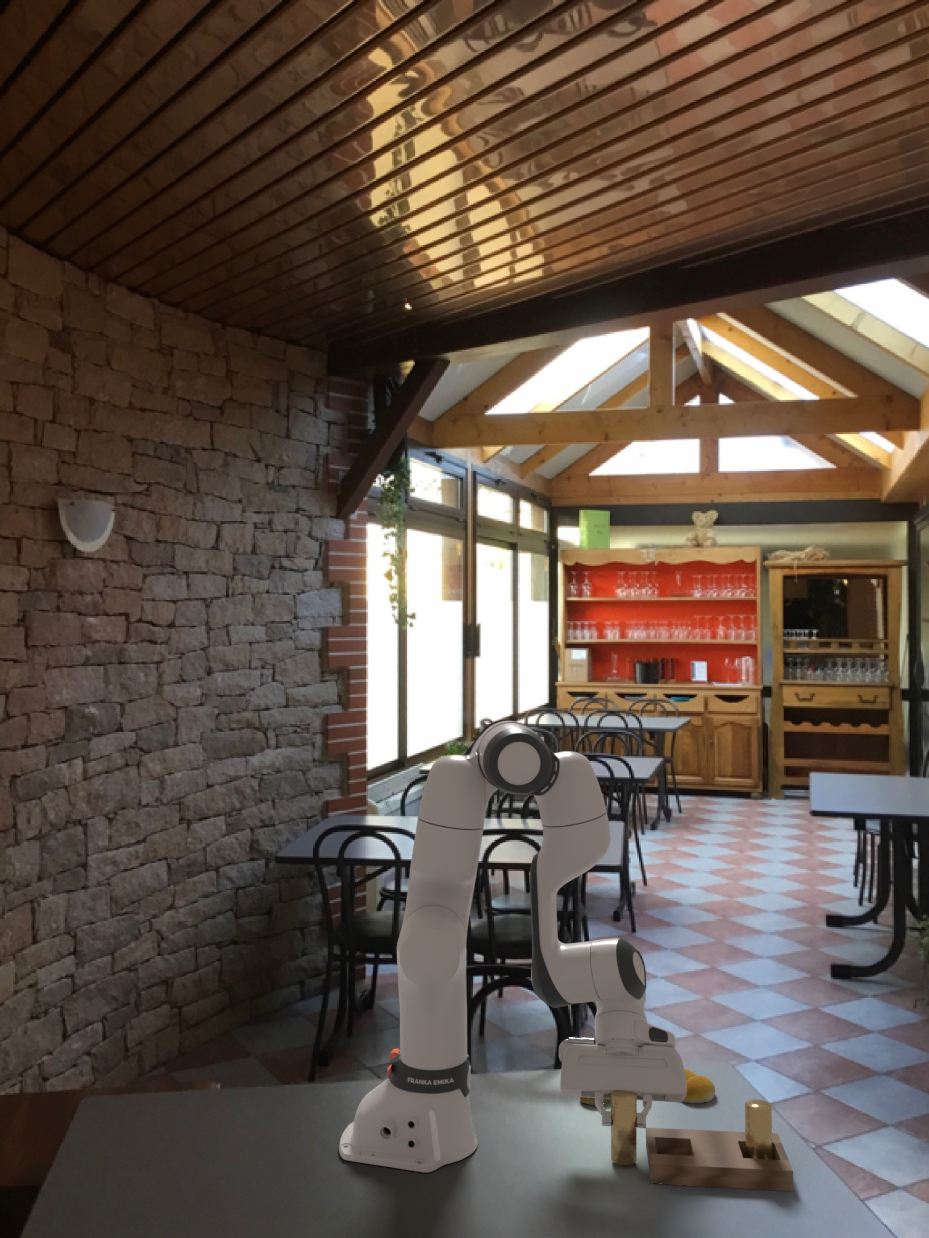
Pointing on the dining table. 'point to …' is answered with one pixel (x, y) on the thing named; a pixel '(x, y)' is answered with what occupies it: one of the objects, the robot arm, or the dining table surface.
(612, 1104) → the loose billet
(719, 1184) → the wooden socket block
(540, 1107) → the dining table surface
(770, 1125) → the seated billet
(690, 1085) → the bread roll
